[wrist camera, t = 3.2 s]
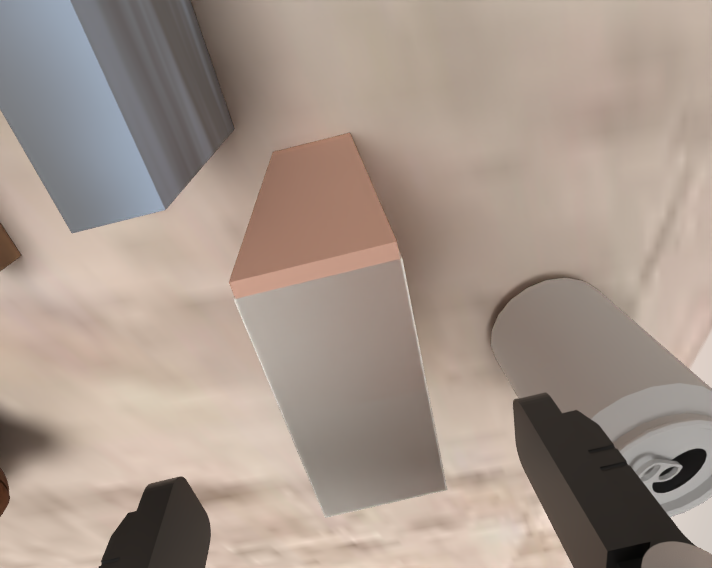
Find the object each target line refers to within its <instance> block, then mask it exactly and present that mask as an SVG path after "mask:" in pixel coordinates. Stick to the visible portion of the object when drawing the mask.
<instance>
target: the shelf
mask: <svg viewBox="0 0 712 568" xmlns="http://www.w3.org/2000/svg"><path fill="white" fill-rule="evenodd" d="M0 110H1V111H2V113H3V115H4V117H5V118H6V120H7V122H8V124H9V125H10V127H11V129H12V130H13V132H14V134H15V136H16V137H17V139H18V141H19V143H20V144H21V146H22V148H23V149H24V151H25V153H26V155H27V156H28V158H29V160H30V162H31V163H32V165H33V167H34V169H35V170H36V172H37V174H38V175H39V177H40V179H41V181H42V182H43V184H44V186H45V188H46V189H47V191H48V193H49V195H50V196H51V198H52V200H53V201H54V203H55V205H56V207H57V208H58V210H59V212H60V214H61V215H62V217H63V219H64V221H65V222H66V224H67V226H68V227H69V229H70V231H71V233H75V232H79V231H83V230H87V229H91V228H95V227H99V226H103V225H107V224H111V223H115V222H119V221H123V220H127V219H131V218H135V217H139V216H143V215H147V214H151V213H155V212H159V211H163V210H166V209H167V208H168V206H169V205H170V204H171V203H172V202H173V201H174V199H175V198H176V197H177V196H178V195H179V194H180V192H181V191H182V190H183V189H184V188H185V186H186V185H187V184H188V183H189V182H190V181H191V179H192V178H193V177H194V176H195V175H196V174H197V172H198V171H199V170H200V169H201V168H202V167H203V165H204V164H205V163H206V162H207V161H208V160H209V158H210V157H211V156H212V155H213V154H214V153H215V151H216V150H217V149H218V148H219V147H220V145H221V144H222V143H223V142H224V141H225V140H226V138H227V137H228V136H229V135H230V134H231V133H232V131H233V130H234V126H233V123H232V120H231V117H230V114H229V112H228V109H227V106H226V103H225V100H224V97H223V94H222V91H221V88H220V85H219V82H218V80H217V77H216V74H215V71H214V68H213V65H212V62H211V59H210V56H209V53H208V50H207V48H206V45H205V42H204V39H203V36H202V33H201V30H200V27H199V24H198V21H197V18H196V16H195V13H194V10H193V7H192V4H191V1H190V0H0ZM20 256H21V254H20V253H19V251H18V250H17V248H16V247H15V245H14V244H13V242H12V240H11V239H10V237H9V236H8V234H7V233H6V231H5V230H4V228H3V227H2V225H1V224H0V271H1V270H3V269H4V268H5V267H7V266H8V265H9V264H11V263H12V262H13V261H15V260H16V259H18V258H19V257H20Z"/></svg>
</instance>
